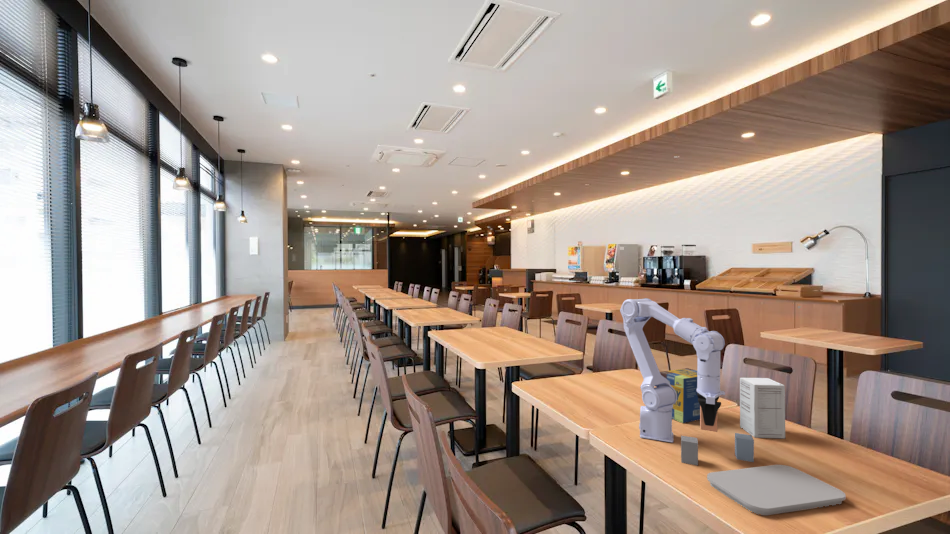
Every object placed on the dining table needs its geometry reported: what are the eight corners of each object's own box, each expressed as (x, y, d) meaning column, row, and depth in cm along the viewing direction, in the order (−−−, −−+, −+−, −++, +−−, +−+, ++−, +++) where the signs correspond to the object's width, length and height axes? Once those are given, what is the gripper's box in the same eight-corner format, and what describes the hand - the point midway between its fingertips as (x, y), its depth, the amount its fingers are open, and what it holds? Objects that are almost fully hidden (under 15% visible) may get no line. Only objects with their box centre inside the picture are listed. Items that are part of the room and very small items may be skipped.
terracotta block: (700, 429, 119) (701, 408, 119) (700, 424, 122) (700, 404, 122) (717, 432, 117) (717, 410, 117) (715, 427, 121) (716, 406, 121)
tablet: (701, 482, 105) (701, 473, 105) (785, 472, 111) (785, 463, 111) (758, 520, 90) (758, 510, 90) (853, 506, 95) (853, 496, 95)
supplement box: (769, 428, 141) (769, 377, 141) (786, 439, 132) (786, 385, 132) (738, 426, 142) (738, 376, 142) (754, 437, 133) (754, 384, 133)
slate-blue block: (736, 459, 118) (736, 437, 118) (734, 453, 121) (734, 432, 121) (753, 462, 116) (753, 440, 116) (751, 456, 120) (751, 435, 120)
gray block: (681, 462, 115) (681, 440, 115) (681, 456, 119) (681, 435, 119) (697, 465, 114) (698, 443, 114) (697, 459, 117) (697, 438, 117)
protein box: (658, 414, 154) (658, 371, 154) (687, 408, 161) (687, 367, 161) (683, 423, 145) (683, 378, 145) (713, 417, 151) (713, 374, 151)
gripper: (728, 382, 112) (727, 433, 111) (722, 370, 125) (722, 416, 125) (697, 379, 115) (697, 429, 114) (695, 368, 128) (695, 413, 128)
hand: (708, 422), depth 120 cm, fingers closed on terracotta block, 4 cm apart
